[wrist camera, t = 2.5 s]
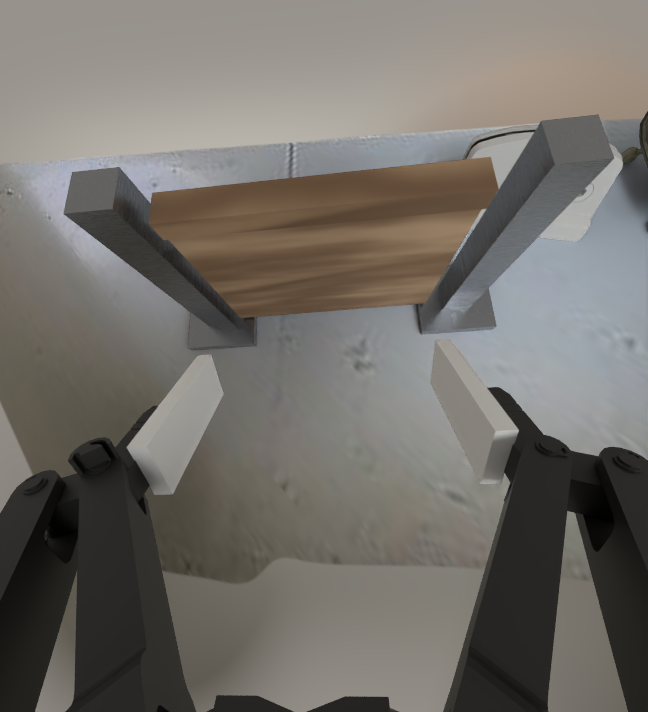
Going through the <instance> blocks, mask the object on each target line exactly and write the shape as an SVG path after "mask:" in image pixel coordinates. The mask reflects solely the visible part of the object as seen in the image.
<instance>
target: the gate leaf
mask: <svg viewBox="0 0 648 712" xmlns="http://www.w3.org/2000/svg"><path fill="white" fill-rule="evenodd" d="M498 190H499V188H498V184H497V180H496V176H495V172H494V168H493V164H492V160H491V157H484V158H474V159H465V160H456V161H446V162H437V163H428V164H418V165H409V166H400V167H390V168H381V169H372V170H362V171H353V172H344V173H334V174H325V175H316V176H306V177H297V178H288V179H278V180H269V181H260V182H250V183H241V184H232V185H222V186H213V187H204V188H194V189H185V190H176V191H166V192H157V193H152V199H151V208H150V217H149V225H150V226H151V227H152V228H153V229H154V230H155V231H156V233H157V234H158V235H159V236H160V237H161V238H162V239H163V240H169V241H170V242H171V243H172V244H173V245H174V246H175V247H176V248H177V250H178V251H179V252H180V253H181V254H182V255H183V256H184V257H185V258H186V259H187V260H188V261H189V263H190V264H191V265H192V266H193V267H194V268H195V269H196V270H197V271H198V272H199V273H200V274H201V276H202V277H203V278H204V279H205V280H206V281H207V282H208V283H209V284H210V285H211V286H212V287H213V289H214V290H215V291H216V292H217V293H218V294H219V295H220V296H221V297H222V298H223V299H224V300H225V302H226V303H227V304H228V305H229V306H230V307H231V308H232V309H233V310H234V311H235V312H236V314H237V315H238V316H239V317H240V318H247V317H259V316H272V315H284V314H297V313H309V312H322V311H334V310H347V309H359V308H372V307H384V306H397V305H409V304H422V303H426V301H427V300H428V298H429V296H430V295H431V293H432V291H433V290H434V288H435V286H436V285H437V283H438V281H439V280H440V278H441V276H442V275H443V273H444V271H445V270H446V268H447V266H448V265H449V263H450V261H451V260H452V258H453V256H454V255H455V253H456V251H457V250H458V248H459V246H460V245H461V243H462V241H463V240H464V238H465V236H466V235H467V233H468V231H469V230H470V228H471V227H472V225H473V223H474V222H475V220H476V218H477V217H478V215H479V213H480V212H481V210H482V209H487V207H488V206H489V204H490V202H491V201H492V199H493V198H494V196H495V194H496V193H497V191H498Z"/></svg>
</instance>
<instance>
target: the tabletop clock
mask: <svg viewBox="0 0 648 712" xmlns="http://www.w3.org/2000/svg"><path fill="white" fill-rule="evenodd" d="M639 138H640V145H641V149H638V148H635V147H632V148H629V149H627V150H626V151H625V152H624V153H623V154H622V161H623V162H624V163H629V162H632V161H633V160H635V159H636V158H637V157H638V155H639V154H642V153H643V155H644V158H645V161H646V164H647V167H648V112H647V113H646V115H645V117H644V118H643V120H642V122H641V123H640V134H639Z"/></svg>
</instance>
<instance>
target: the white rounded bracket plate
mask: <svg viewBox="0 0 648 712" xmlns="http://www.w3.org/2000/svg"><path fill="white" fill-rule="evenodd" d="M538 126H539V125H525V126H516V127H510V128H504V129H500V130H496V131H492V132H488V133H485V134H482V135H479V136H477V137H475V138H474V139H473V140H472V141H471V143H470V145H469V147H468V149H467V151H466V153H465V155H464V158H463V160H465V159H474V158H484V157H491V160H492V164H493V168H494V172H495V176H496V180H497V184H498V188H500V187H501V185H502V183H503V182H504V180H505V179H506V177H507V175H508V174H509V172H510V170H511V169H512V167H513V166H514V164H515V162H516V161H517V159H518V158H519V156H520V154H521V153H522V151H523V150H524V148H525V146H526V145H527V143H528V142H529V140H530V138H531V137H532V135H533V134H534V132H535V130H536V129H537V127H538ZM609 145H610V147H611V150H612V152H613V155H614V159H613V160H612V161H611V162H610V164H609V165H608V166H607V167H606V168H605V169H604V170H603V171H602V172H601V173H600V174H599V175H598V176H597V177H596V178H595V179H594V180H593V181H592V182H591V183H590V184H589V185H588V186H587V187H586V188H585V189H584V190H583V191H582V192H581V193H580V194H579V195H578V196H577V197H576V198H575V199H574V200H573V202H572V203H571V204H570V205H569V206H568V207H567V208H566V209H565V210H564V211H563V212H562V213H561V214H560V215H559V216H558V217H557V218H556V219H555V220H554V221H553V222H552V223H551V224H550V225H549V226H548V227H547V228H546V229H545V230H544V231H543V232H542V233H541V234H540V235H539V236H538V238H547V239H556V240H565V241H574V242H579V240H580V239H581V238H582V237H583V235H584V234H585V233H586V232H587V230H588V229H589V226H590V223H591V220H592V217H593V214H594V213H595V211H596V210H597V208H598V206H599V205H600V203H601V202H602V200H603V198H604V197H605V195H606V193H607V192H608V190H609V189H610V187H611V185H612V184H613V182H614V181H615V179H616V177H617V176H618V174H619V172H620V171H621V169H622V167H623V161H622V156H621V154H620V153H619V152H618V151H617V149H616V147H614V146H613V145H611V144H610V143H609ZM495 195H496V194H495ZM490 203H491V202H490ZM485 211H486V209H482V210H481V212H480V213H479V215H478V217H477V218H476V220H475V222H474V223H473V225H472V227H471V228H470V230H474V228H475V227H476V225H477V223H478V222H479V220H480V219H481V217H482V215H483V214H484V212H485Z"/></svg>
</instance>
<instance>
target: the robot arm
mask: <svg viewBox="0 0 648 712" xmlns="http://www.w3.org/2000/svg"><path fill="white" fill-rule="evenodd" d="M431 385H432V387H433V389H434V391H435V393H436V395H437V397H438V399H439V401H440V403H441V405H442V407H443V409H444V411H445V413H446V415H447V417H448V419H449V421H450V423H451V425H452V427H453V429H454V431H455V433H456V435H457V438H458V440H459V442H460V444H461V446H462V448H463V450H464V452H465V454H466V456H467V458H468V460H469V462H470V464H471V466H472V468H473V470H474V472H475V474H476V476H477V478H478V480H479V482H480V484H495V483H501V482H502V479H503V476H504V473H505V474H506V476H507V477H508V479H509V481H510V482H511V483H510V485H509V488H508V491H507V494H506V496H505V499H504V501H505V502H504V505H503V509H502V512H501V516H500V519H499V523H498V526H497V530H496V533H495V537H494V540H493V544H492V547H491V551H490V554H489V558H488V561H487V565H486V568H485V572H484V575H483V579H482V582H481V585H480V589H479V592H478V596H477V599H476V603H475V606H474V610H473V613H472V617H471V620H470V624H469V627H468V631H467V634H466V638H465V641H464V644H463V648H462V651H461V655H460V659H459V662H458V665H457V669H456V672H455V676H454V679H453V683H452V686H451V689H450V693H449V695H448V699H447V702H446V704H445V708H444V711H443V712H548V705H547V703H548V690H549V680H550V671H551V661H552V651H553V642H554V641H553V640H554V632H555V622H556V613H557V604H558V594H559V583H560V575H561V565H562V556H563V546H564V536H565V527H566V517H567V511H570V512H574V513H575V514H576V518H577V521H578V525H579V529H580V533H581V536H582V540H583V544H584V548H585V551H586V555H587V559H588V563H589V566H590V570H591V574H592V578H593V581H594V585H595V589H596V593H597V596H598V600H599V604H600V607H601V611H602V615H603V619H604V622H605V626H606V630H607V634H608V638H609V641H610V645H611V649H612V653H613V656H614V660H615V664H616V668H617V671H618V675H619V678H620V683H621V686H622V690H623V694H624V698H625V701H626V705H627V709H628V712H648V460H646V459H645V458H644V457H642V456H640V455H638V454H636V453H634V452H632V451H629V450H626V449H623V448H617V447H608V448H604V449H603V450H602V451H601V452H600V454H599V456H594V455H589V454H583V453H578V452H574V451H571V450H570V449H569V448H568V447H567V445H565V444H564V443H562V442H561V441H560V440H557V439H555V438H553V437H551V436H546V435H543V433H542V432H541V431H540V430H539V429H538V427H537V426H536V425H535V424H534V423H533V422H532V420H531V419H530V418H529V417H528V416H527V414H526V413H525V412H524V411H522V408H521V407H520V406H519V405H518V404H516V401H515V400H514V399H513V398H512V397H511V395H510V394H508V393H507V392H505V391H504V390H502V389H501V388H499V387H493V388H487V387H486V386H485V385H484V383H483V382H482V381H481V379H480V378H479V377H478V375H477V374H476V373H475V371H474V370H473V369H472V367H471V366H470V365H469V363H468V362H467V361H466V359H465V358H464V357H463V356H462V354H461V353H460V352H459V350H458V349H457V348H456V346H455V345H454V344H453V342H452V341H451V340H436V341H435V349H434V358H433V366H432V374H431ZM223 394H224V393H223V390H222V387H221V384H220V381H219V378H218V375H217V371H216V368H215V365H214V362H213V359H212V356H211V355H198V356H197V357H196V358H195V359H194V361H193V362H192V363H191V365H190V366H189V367H188V369H187V370H186V371H185V372H184V374H183V375H182V376H181V378H180V379H179V380H178V381H177V383H176V384H175V385H174V387H173V388H172V389H171V391H170V392H169V393H168V394H167V396H166V397H165V398H164V400H163V401H162V402H161V403H160V405H159V406H153V407H151V408H150V409H149V410H147V411H146V412H145V413H143V414H142V416H141V417H140V418H139V419H138V421H137V422H136V424H134V425H133V427H132V428H131V430H129V432H128V433H127V434H126V435H125V437H124V438H123V439H122V440H121V441H120V443H119V444H118V445H117V446H116V448H115V447H114V446H113V444H112V442H111V441H110V439H108V438H97V439H94V440H91V441H88V442H86V443H85V444H83V445H81V446H80V447H78V448H77V449H76V450H75V451H74V452H73V453H72V454H71V455H70V457H69V459H68V461H69V463H70V464H71V465H72V467H73V468H74V469H75V471H76V472H77V473H78V474H74V475H70V476H67V477H63V478H61V477H60V476H59V475H58V474H57V472H56V471H52V470H49V471H43V472H40V473H38V474H36V475H33V476H31V477H30V478H28V479H26V480H25V481H24V482H23V483H21V484H20V485H19V486H18V487H17V488H16V489H15V491H14V492H13V493H12V495H11V496H10V498H9V500H8V502H7V503H6V505H5V506H4V508H3V510H2V511H1V513H0V712H35V709H36V706H37V702H38V699H39V696H40V692H41V689H42V686H43V682H44V679H45V676H46V672H47V669H48V666H49V662H50V659H51V656H52V652H53V648H54V645H55V642H56V639H57V635H58V632H59V628H60V625H61V622H62V619H63V615H64V612H65V608H66V605H67V602H68V599H69V595H70V592H71V589H72V585H73V582H74V578H75V575H76V572H77V571H78V572H77V610H76V611H77V612H76V613H77V614H76V651H75V692H74V700H73V703H72V705H71V706H70V707H69V709H68V710H67V711H66V712H196V710H195V707H194V704H193V701H192V699H191V696H190V694H189V692H188V689H187V687H186V683H185V680H184V675H183V670H182V666H181V661H180V656H179V651H178V646H177V642H176V637H175V632H174V627H173V622H172V617H171V613H170V608H169V603H168V598H167V594H166V588H165V584H164V579H163V574H162V569H161V564H160V559H159V555H158V550H157V545H156V540H155V535H154V530H153V526H152V521H151V516H150V511H149V506H148V502H147V499H146V497H145V496H144V493H145V492H146V490H147V489H148V487H149V486H150V488H151V490H152V491H153V493H154V495H168V494H173V493H174V491H175V489H176V487H177V485H178V483H179V481H180V479H181V477H182V475H183V473H184V471H185V469H186V467H187V465H188V463H189V461H190V459H191V457H192V455H193V453H194V451H195V450H196V448H197V446H198V444H199V442H200V440H201V438H202V436H203V434H204V432H205V430H206V428H207V426H208V424H209V422H210V420H211V418H212V416H213V414H214V412H215V410H216V408H217V406H218V404H219V402H220V400H221V398H222V396H223ZM207 712H293V711H291V710H288V709H286V708H284V707H282V706H280V705H277V704H275V703H273V702H270V701H268V700H265V699H264V698H261V697H259V696H224V695H223V696H221V695H218V696H216V701H215V705H214V708H213V709H211V710H209V711H207ZM308 712H398V711H396V710H393V709H391V708H390V707H389V698H388V697H343V698H341V699H338V700H335V701H333V702H330V703H328V704H325V705H323V706H321V707H318V708H315V709H313V710H310V711H308Z"/></svg>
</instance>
